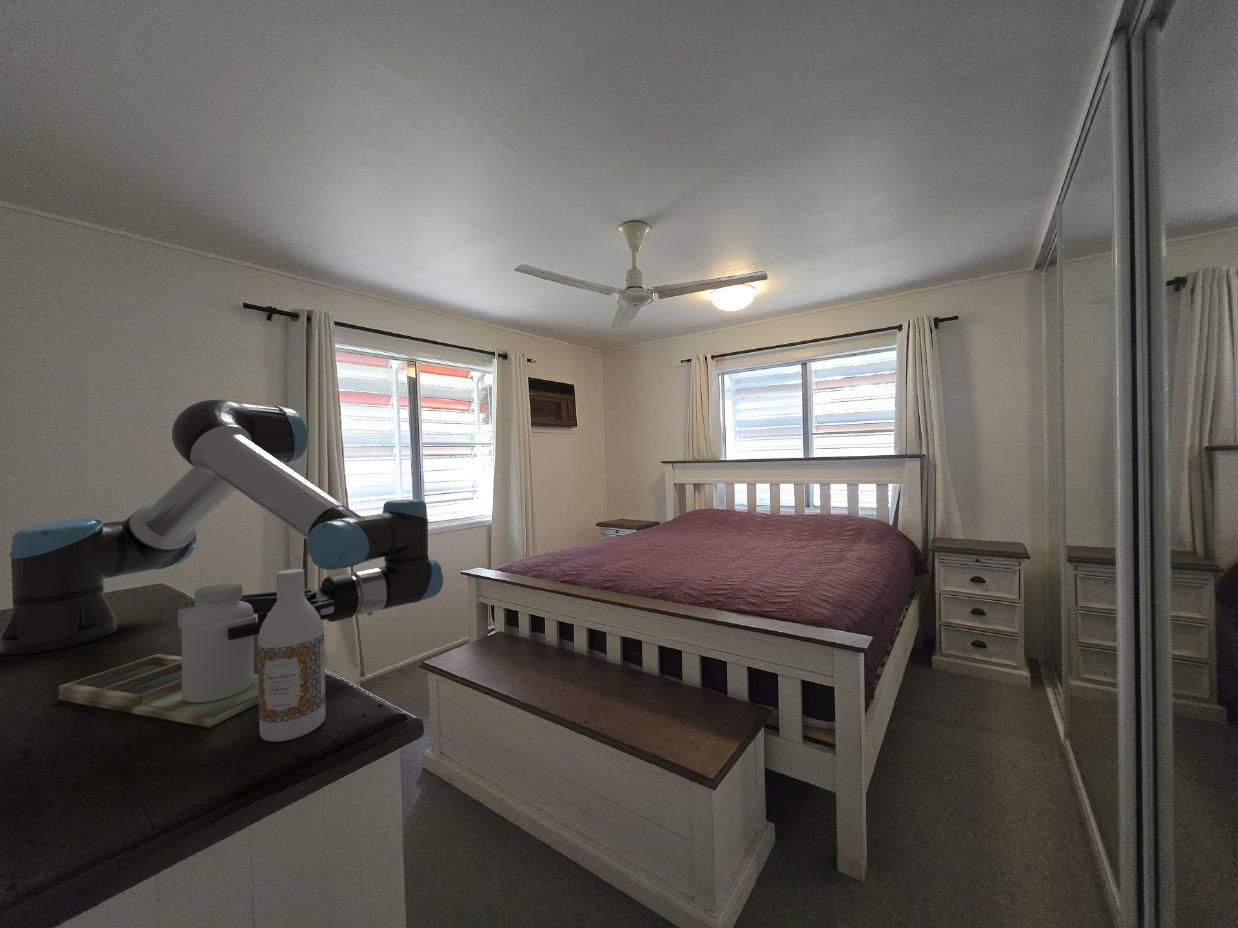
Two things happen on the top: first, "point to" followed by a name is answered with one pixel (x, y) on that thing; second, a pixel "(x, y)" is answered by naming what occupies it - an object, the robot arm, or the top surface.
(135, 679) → the tray
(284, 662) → the bath foam
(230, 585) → the pill bottle
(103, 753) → the top surface
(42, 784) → the top surface
